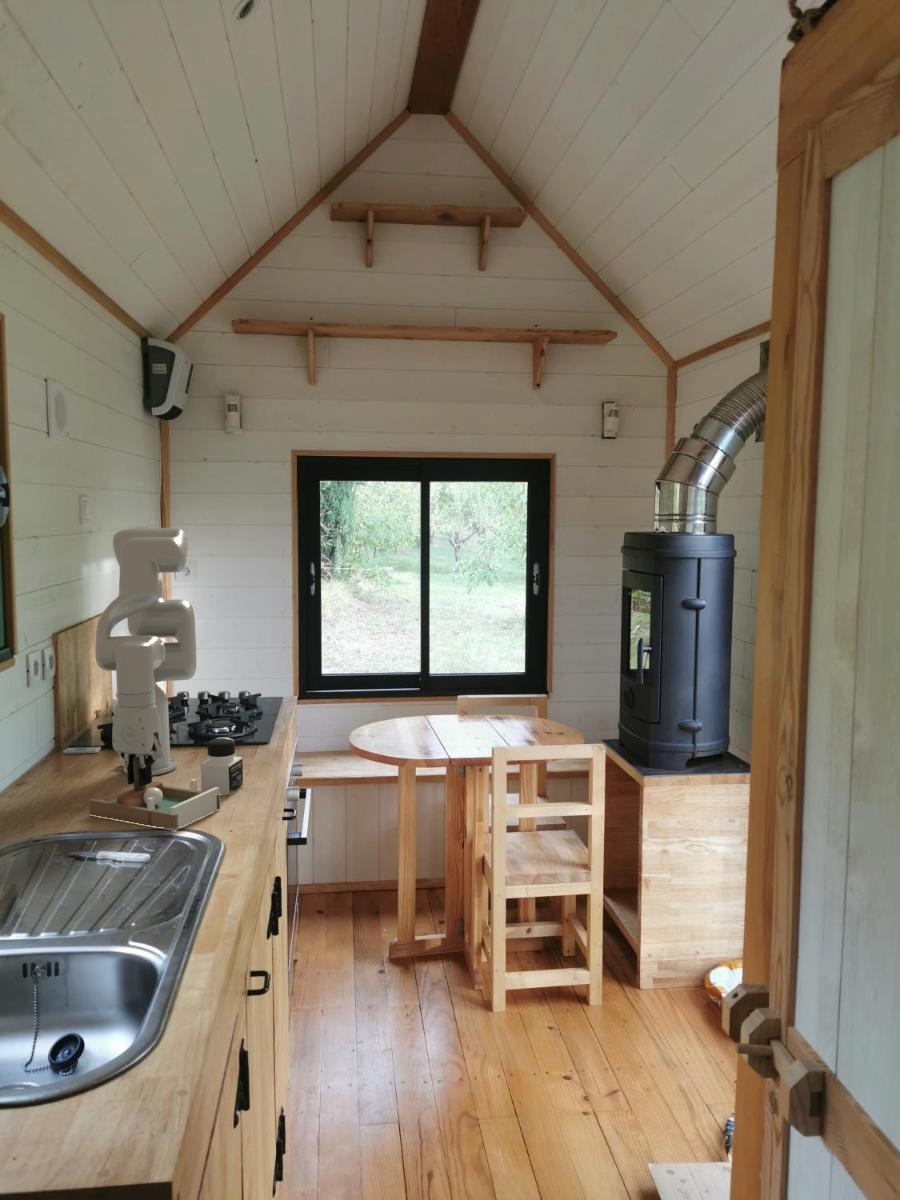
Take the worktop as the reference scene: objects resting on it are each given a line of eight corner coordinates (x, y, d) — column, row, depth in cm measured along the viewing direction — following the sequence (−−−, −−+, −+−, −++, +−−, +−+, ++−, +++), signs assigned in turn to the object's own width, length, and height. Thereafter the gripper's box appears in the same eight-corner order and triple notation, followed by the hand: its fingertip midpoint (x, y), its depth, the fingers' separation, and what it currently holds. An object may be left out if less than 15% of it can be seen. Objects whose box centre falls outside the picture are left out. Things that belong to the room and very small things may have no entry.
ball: (136, 800, 185) (144, 786, 184) (149, 794, 189) (157, 781, 188) (148, 812, 184) (156, 799, 183) (161, 806, 188) (169, 793, 187)
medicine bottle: (230, 796, 197) (228, 744, 196) (201, 794, 198) (199, 742, 197) (243, 786, 204) (242, 736, 203) (215, 784, 205) (213, 734, 204)
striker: (117, 809, 183) (115, 762, 182) (152, 794, 193) (150, 750, 192) (128, 811, 182) (126, 764, 181) (163, 796, 192) (161, 751, 191)
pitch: (89, 816, 184) (88, 788, 184) (137, 796, 197) (136, 770, 196) (175, 832, 175) (174, 803, 174) (219, 810, 188) (219, 783, 187)
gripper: (94, 699, 185) (98, 783, 187) (152, 706, 178) (155, 793, 180) (121, 692, 192) (125, 773, 194) (178, 699, 185) (181, 783, 187)
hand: (139, 782), depth 187 cm, fingers closed on striker, 2 cm apart
